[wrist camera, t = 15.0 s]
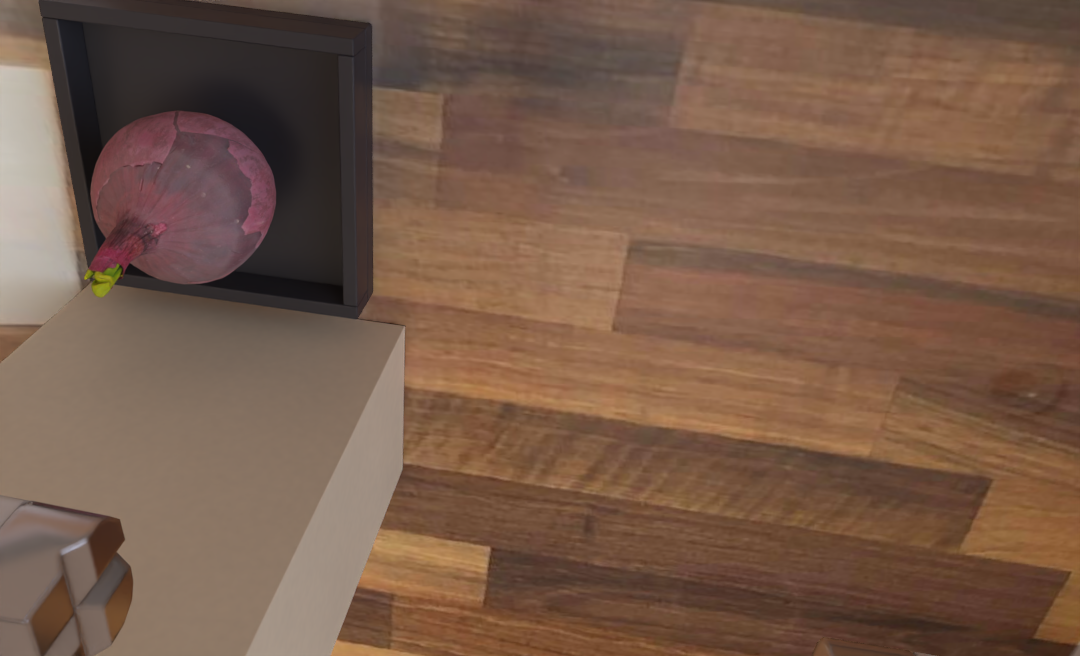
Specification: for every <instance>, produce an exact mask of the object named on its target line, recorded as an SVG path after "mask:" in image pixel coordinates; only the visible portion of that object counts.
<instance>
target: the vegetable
mask: <svg viewBox="0 0 1080 656" xmlns="http://www.w3.org/2000/svg"><path fill="white" fill-rule="evenodd" d="M90 194H91V203H92V208H93V213H94V218H95V220H96V223H97V225H98V227H99V229H100V230H101V232H102V233H103V235H104V236H105V238H106V240H105V241H104V243H103V244H102V246H101V247H100V249H99V251H98V252H97V254H96V256H95V258H94V259H93V261H92V262H91V265H90V267H89V268H88V270H87V272H86V274H85V277H84V279H85V280H86V279H89V278H91V277H92V276H93V277H92V278H93V279H95V280H94V281H93V282H92V284H91V288H92V292H93V293H94V294H95V296H97V297H99V298H102V297H104V296H105V295H106V294H107V293H108V292H109V291H110V289H112V288H113V285H114V284H115V282H116V281H117V280H120V279H122V278H123V276H124V273H125V270H126V268H127V266H128V265H129V263H131V264H132V265H133V266H135V267H137V268H138V269H140V270H142V271H143V272H145V273H146V274H148V275H150V276H153V277H155V278H157V279H160V280H163V281H168V282H173V283H179V284H202V283H207V282H211V281H214V280H218V279H221V278H223V277H225V276H227V275H229V274H230V273H232V272H233V271H234V270H235V269H237V268H238V267H239V266H241V265H242V264H243V263H244V262H245V261H246V260H247V259H248V258H249V257H250V256H251V255H252V254H253V253H254V252H255V250H256V249H257V248H258V246H259V245H260V244H261V242H262V240H263V239H264V237H265V235H266V234H267V231H268V229H269V226H270V224H271V221H272V219H273V215H274V210H275V206H276V189H275V182H274V176H273V173H272V170H271V168H270V166H269V165H268V163H267V161H266V159H265V157H264V156H263V154H262V153H261V151H260V150H259V149H258V148H257V146H256V145H255V144H254V143H253V142H252V141H251V140H250V139H249V138H248V137H247V136H246V135H245V134H244V133H243V132H241V131H240V130H239V129H237V128H236V127H234V126H233V125H232V124H230V123H228V122H226V121H223V120H221V119H219V118H217V117H214V116H212V115H208V114H204V113H197V112H187V111H171V112H163V113H160V114H156V115H151V116H147V117H143V118H140V119H138V120H135V121H133V122H132V123H130V124H128V125H126V126H125V127H123V128H122V129H120V130H119V131H118V132H117V133H116V134H115V135H114V136H113V137H112V138H111V139H110V140H109V141H108V143H107V144H106V145H105V147H104V148H103V150H102V152H101V154H100V156H99V158H98V160H97V162H96V165H95V169H94V173H93V177H92V183H91V193H90Z"/></svg>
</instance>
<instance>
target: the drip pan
mask: <svg viewBox="0 0 1080 656" xmlns="http://www.w3.org/2000/svg"><path fill="white" fill-rule="evenodd" d="M39 6H40V12H41V16H42V17H43V18H42V21H43V27H44V32H45V38H46V43H47V49H48V54H49V59H50V65H51V70H52V76H53V81H54V86H55V92H56V97H57V103H58V108H59V113H60V119H61V124H62V130H63V135H64V141H65V146H66V151H67V157H68V162H69V168H70V173H71V178H72V184H73V189H74V195H75V200H76V205H77V211H78V216H79V222H80V227H81V233H82V238H83V243H84V249H85V254H86V260H87V265H88V268H89V267H90V265H91V262H92V261H93V259H94V258H95V256H96V254H97V252H98V251H99V249H100V247H101V246H102V244H103V243H104V241H105V240H106V238H105V236H104V235H103V233H102V232H101V230H100V229H99V227H98V225H97V223H96V220H95V218H94V213H93V208H92V203H91V194H90V193H91V183H92V177H93V173H94V169H95V165H96V162H97V160H98V158H99V156H100V154H101V152H102V150H103V148H104V147H105V145H106V144H107V143H108V141H109V140H110V139H111V138H112V137H113V136H114V135H115V134H116V133H117V132H118V131H119V130H120V129H122V128H123V127H125V126H126V125H128V124H130V123H132V122H133V121H135V120H138V119H140V118H143V117H147V116H151V115H156V114H160V113H163V112H171V111H187V112H197V113H204V114H208V115H212V116H214V117H217V118H219V119H221V120H223V121H226V122H228V123H230V124H232V125H233V126H234V127H236V128H237V129H239V130H240V131H241V132H243V133H244V134H245V135H246V136H247V137H248V138H249V139H250V140H251V141H252V142H253V143H254V144H255V145H256V146H257V148H258V149H259V150H260V151H261V153H262V154H263V156H264V157H265V159H266V161H267V163H268V165H269V166H270V168H271V170H272V173H273V176H274V182H275V189H276V206H275V210H274V215H273V219H272V221H271V224H270V226H269V229H268V231H267V234H266V235H265V237H264V239H263V240H262V242H261V244H260V245H259V246H258V248H257V249H256V250H255V252H254V253H253V254H252V255H251V256H250V257H249V258H248V259H247V260H246V261H245V262H244V263H243V264H242V265H241V266H239V267H238V268H237V269H235V270H234V271H233V272H232V273H230V274H229V275H227V276H225V277H223V278H221V279H218V280H214V281H211V282H207V283H202V284H179V283H173V282H168V281H163V280H160V279H157V278H155V277H153V276H150V275H148V274H146V273H145V272H143V271H142V270H140V269H138V268H137V267H135V266H133V265H132V264H131V263H129V265H128V266H127V268H126V270H125V273H124V276H123V278H122V279H120V280H117V281H116V282H115V284H114V285H119V286H126V287H133V288H140V289H147V290H154V291H161V292H168V293H175V294H182V295H189V296H196V297H203V298H210V299H217V300H224V301H231V302H238V303H245V304H252V305H259V306H266V307H273V308H280V309H287V310H294V311H301V312H308V313H315V314H322V315H329V316H336V317H343V318H350V319H358V317H359V316H360V314H361V312H362V310H363V309H364V307H365V305H366V303H367V301H368V300H369V298H370V297H371V295H372V293H373V215H372V25H371V24H370V23H363V22H355V21H347V20H339V19H331V18H323V17H315V16H307V15H298V14H290V13H282V12H274V11H266V10H258V9H250V8H242V7H234V6H226V5H218V4H210V3H202V2H194V1H186V0H39ZM92 277H93V276H92ZM92 277H91V278H90V281H92V282H93V281H94V280H95V279H93V278H92Z"/></svg>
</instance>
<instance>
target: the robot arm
mask: <svg viewBox="0 0 1080 656" xmlns="http://www.w3.org/2000/svg"><path fill="white" fill-rule="evenodd" d="M124 541H125V537H124V533H123V529H122V525H121V521H120V519H118V518H114V517H111V516H106V515H101V514H96V513H91V512H86V511H81V510H76V509H71V508H66V507H61V506H56V505H51V504H46V503H41V502H36V501H29V500H24V499H19V498H13V497H8V496H3V495H0V656H95V655H96V654H98V653H100V652H101V651H103V650H105V649H106V648H108V647H110V646H111V645H112V643H113V642H114V640H115V639H116V637H117V635H118V634H119V632H120V630H121V629H122V627H123V625H124V623H125V620H126V617H127V614H128V611H129V608H130V605H131V602H132V596H133V576H132V570H131V566H130V565H129V564H128V563H127V562H126V561H125V560H124V559H123V558H122V557H121V556H120V555H119V554H118V553H117V551H118V549H119V548H120V547H121V545H122V544H123V542H124ZM812 656H935V655H929V654H923V653H917V652H913V653H912V652H910V651H909V650H903V649H896V648H890V647H884V646H877V645H871V644H865V643H858V642H852V641H846V640H839V639H833V638H827V637H822V638H821V639H820V640H819V641H818V642H817V644H816V646H815V649H814V651H813V653H812Z"/></svg>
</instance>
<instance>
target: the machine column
mask: <svg viewBox="0 0 1080 656" xmlns="http://www.w3.org/2000/svg"><path fill="white" fill-rule="evenodd" d="M91 284H92V282H91V283H90V284H89V285H88V286H87V287H85V288H84V289H83V290H82V291H81V292H80V293H79V294H78V295H76V296H75V297H74V298H73V299H72V300H71V301H70V302H69V303H67V304H66V305H65V306H64V307H63V308H62V309H61V310H60V311H58V312H57V313H56V314H55V315H54V316H53V317H52V318H51V319H49V320H48V321H47V322H46V323H45V324H44V325H43V326H42V327H40V328H39V329H38V330H37V331H36V332H35V333H34V334H33V335H31V336H30V337H29V338H28V339H27V340H26V341H25V342H24V343H22V344H21V345H20V346H19V347H18V348H17V349H16V350H15V351H13V352H12V353H11V354H10V355H9V356H8V357H7V358H6V359H4V360H3V361H2V362H1V363H0V495H3V496H8V497H13V498H19V499H24V500H29V501H36V502H41V503H46V504H51V505H56V506H61V507H66V508H71V509H76V510H81V511H86V512H91V513H96V514H101V515H106V516H111V517H114V518H118V519H120V521H121V525H122V529H123V533H124V537H125V541H124V542H123V544H122V545H121V547H120V548H119V549H118V551H117V553H118V554H119V555H120V556H121V557H122V558H123V559H124V560H125V561H126V562H127V563H128V564H129V565H130V566H131V570H132V576H133V596H132V602H131V605H130V608H129V611H128V614H127V617H126V620H125V623H124V625H123V627H122V629H121V630H120V632H119V634H118V635H117V637H116V639H115V640H114V642H113V643H112V645H111V646H110V647H108V648H106V649H105V650H103V651H101V652H100V653H98V654H96V655H95V656H330V655H331V652H332V650H333V647H334V645H335V642H336V640H337V637H338V634H339V632H340V629H341V627H342V624H343V621H344V619H345V616H346V614H347V611H348V609H349V606H350V603H351V601H352V598H353V596H354V593H355V590H356V588H357V585H358V583H359V580H360V578H361V575H362V572H363V570H364V567H365V565H366V562H367V559H368V557H369V554H370V552H371V549H372V547H373V544H374V541H375V539H376V536H377V534H378V531H379V528H380V526H381V523H382V521H383V518H384V516H385V513H386V510H387V508H388V505H389V503H390V500H391V497H392V495H393V492H394V490H395V487H396V485H397V482H398V479H399V477H400V474H401V472H402V469H403V415H404V355H405V326H401V325H394V324H387V323H380V322H373V321H366V320H359V319H350V318H343V317H336V316H329V315H322V314H315V313H308V312H301V311H294V310H287V309H280V308H273V307H266V306H259V305H252V304H245V303H238V302H231V301H224V300H217V299H210V298H203V297H196V296H189V295H182V294H175V293H168V292H161V291H154V290H147V289H140V288H133V287H126V286H119V285H113V288H112V289H110V291H109V292H108V293H107V294H106V295H105V296H104V297H102V298H99V297H97V296H95V294H94V293H93V292H92V288H91Z"/></svg>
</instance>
